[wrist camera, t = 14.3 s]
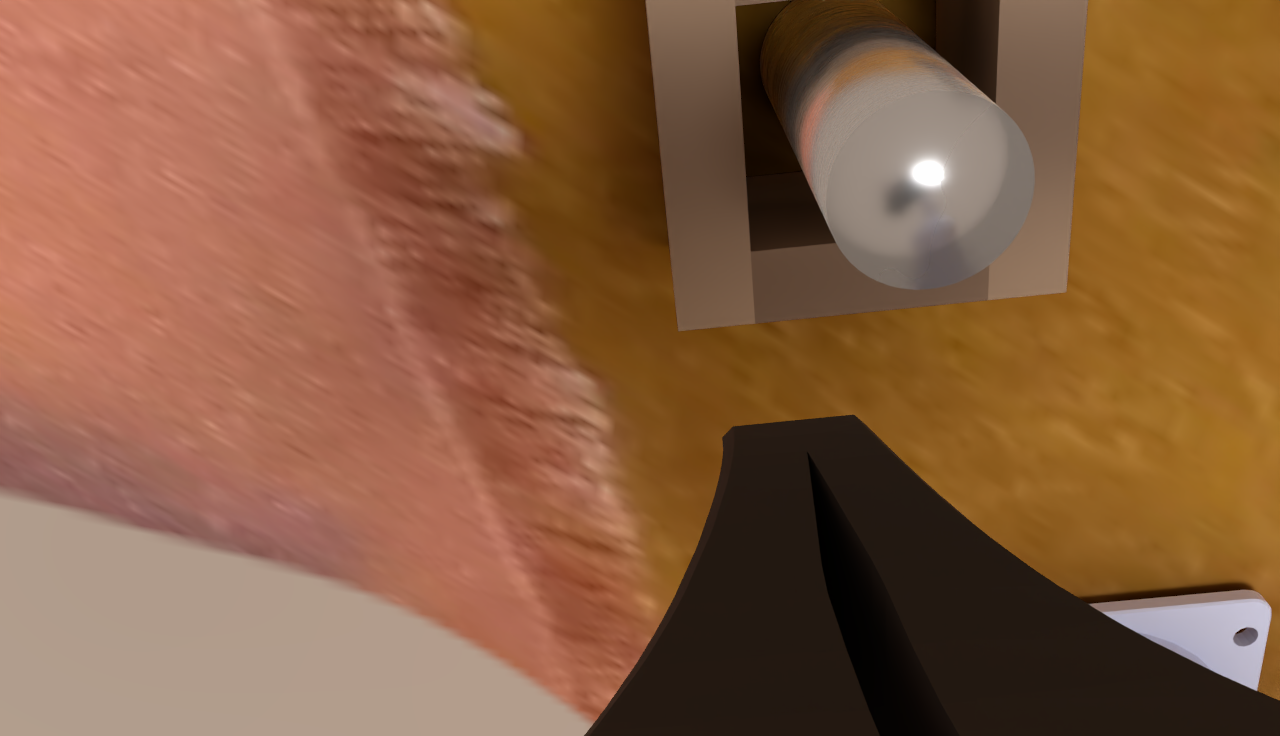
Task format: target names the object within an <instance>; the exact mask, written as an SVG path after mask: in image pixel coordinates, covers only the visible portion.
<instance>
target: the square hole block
mask: <svg viewBox="0 0 1280 736" xmlns="http://www.w3.org/2000/svg"><path fill="white" fill-rule="evenodd" d="M777 1H786V0H645V5H646V15H647V25H648V36H649V46H650V56H651V66H652V76H653V87H654V97H655V107H656V117H657V127H658V138H659V148H660V158H661V168H662V178H663V189H664V199H665V209H666V219H667V229H668V240H669V250H670V259H671V268H672V278H673V287H674V296H675V306H676V315H677V324H678V331H686V330H696V329H706V328H716V327H726V326H736V325H746V324H756V323H766V322H775V321H785V320H795V319H805V318H815V317H825V316H835V315H845V314H855V313H865V312H875V311H885V310H895V309H905V308H915V307H925V306H935V305H945V304H954V303H964V302H974V301H984V300H994V299H1004V298H1014V297H1024V296H1034V295H1044V294H1054V293H1064V292H1066V289H1067V276H1068V262H1069V249H1070V236H1071V222H1072V209H1073V195H1074V182H1075V168H1076V155H1077V141H1078V128H1079V114H1080V101H1081V87H1082V74H1083V60H1084V47H1085V33H1086V20H1087V6H1088V0H936V43H935V51H936V52H937V53H938V54H939V55H940V56H942V57H943V58H944V59H945V60H946V61H947V62H948V63H950V64H951V65H952V66H953V67H954V68H955V69H956V70H958V71H959V72H960V73H961V74H962V75H963V76H964V77H966V78H967V79H968V80H969V81H970V82H971V83H972V84H974V85H975V86H976V87H977V88H978V89H979V90H980V91H982V92H983V93H984V94H985V95H986V96H987V97H988V98H990V99H991V100H992V101H993V102H994V103H995V104H996V105H998V106H999V107H1000V108H1001V109H1002V110H1003V111H1004V112H1006V113H1007V114H1008V115H1009V116H1010V117H1011V118H1012V120H1013V121H1014V122H1015V123H1016V124H1017V125H1018V127H1019V128H1020V130H1021V131H1022V133H1023V134H1024V136H1025V138H1026V140H1027V142H1028V145H1029V148H1030V151H1031V154H1032V157H1033V163H1034V169H1035V185H1034V193H1033V198H1032V202H1031V206H1030V210H1029V212H1028V215H1027V217H1026V220H1025V222H1024V224H1023V226H1022V227H1021V229H1020V231H1019V233H1018V234H1017V236H1016V237H1015V239H1014V240H1013V241H1012V243H1011V244H1010V245H1009V246H1008V248H1007V249H1006V250H1005V251H1004V252H1003V253H1002V254H1001V255H1000V256H999V257H998V258H997V259H996V260H995V261H993V262H992V263H991V264H990V265H988V266H987V267H986V268H984V269H983V270H981V271H980V272H978V273H976V274H974V275H973V276H971V277H969V278H967V279H964V280H962V281H960V282H957V283H954V284H951V285H948V286H944V287H939V288H933V289H921V290H914V289H902V288H897V287H892V286H889V285H886V284H883V283H880V282H878V281H876V280H874V279H872V278H870V277H868V276H867V275H865V274H864V273H862V272H861V271H859V270H858V269H857V268H856V267H855V266H854V265H852V264H851V263H850V262H849V261H848V259H847V258H846V257H845V256H844V254H843V253H842V252H841V250H840V249H839V247H838V245H837V244H836V242H835V240H834V238H833V235H832V233H831V231H830V229H829V227H828V225H827V223H826V220H825V218H824V216H823V214H822V212H821V210H820V207H819V205H818V203H817V201H816V199H815V197H814V194H813V192H812V190H811V188H810V186H809V184H808V182H807V179H806V177H805V175H804V173H803V171H801V172H791V173H781V174H772V175H762V176H753V177H746V170H745V155H744V139H743V123H742V107H741V91H740V75H739V60H738V44H737V28H736V12H735V6H740V5H749V4H759V3H768V2H777Z"/></svg>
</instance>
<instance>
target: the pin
mask: <svg viewBox="0 0 1280 736" xmlns="http://www.w3.org/2000/svg"><path fill="white" fill-rule="evenodd" d="M760 71H761V78H762V82H763V86H764V88H765V91H766V93H767V95H768V97H769V100H770V102H771V104H772V106H773V108H774V110H775V112H776V115H777V117H778V119H779V121H780V123H781V125H782V128H783V130H784V132H785V134H786V136H787V138H788V141H789V143H790V145H791V147H792V149H793V151H794V153H795V156H796V158H797V160H798V162H799V164H800V166H801V169H802V171H803V173H804V175H805V177H806V179H807V182H808V184H809V186H810V188H811V190H812V192H813V194H814V197H815V199H816V201H817V203H818V205H819V207H820V210H821V212H822V214H823V216H824V218H825V220H826V223H827V225H828V227H829V229H830V231H831V233H832V235H833V238H834V240H835V242H836V244H837V245H838V247H839V249H840V250H841V252H842V253H843V254H844V256H845V257H846V258H847V259H848V261H849V262H850V263H851V264H852V265H854V266H855V267H856V268H857V269H858V270H859V271H861V272H862V273H864V274H865V275H867V276H868V277H870V278H872V279H874V280H876V281H878V282H880V283H883V284H886V285H889V286H892V287H897V288H902V289H914V290H921V289H933V288H939V287H944V286H948V285H951V284H954V283H957V282H960V281H962V280H964V279H967V278H969V277H971V276H973V275H974V274H976V273H978V272H980V271H981V270H983V269H984V268H986V267H987V266H988V265H990V264H991V263H992V262H993V261H995V260H996V259H997V258H998V257H999V256H1000V255H1001V254H1002V253H1003V252H1004V251H1005V250H1006V249H1007V248H1008V246H1009V245H1010V244H1011V243H1012V241H1013V240H1014V239H1015V237H1016V236H1017V234H1018V233H1019V231H1020V229H1021V227H1022V226H1023V224H1024V222H1025V220H1026V217H1027V215H1028V212H1029V210H1030V206H1031V202H1032V198H1033V193H1034V185H1035V169H1034V163H1033V157H1032V154H1031V151H1030V148H1029V145H1028V142H1027V140H1026V138H1025V136H1024V134H1023V133H1022V131H1021V130H1020V128H1019V127H1018V125H1017V124H1016V123H1015V122H1014V121H1013V120H1012V118H1011V117H1010V116H1009V115H1008V114H1007V113H1006V112H1004V111H1003V110H1002V109H1001V108H1000V107H999V106H998V105H996V104H995V103H994V102H993V101H992V100H991V99H990V98H988V97H987V96H986V95H985V94H984V93H983V92H982V91H980V90H979V89H978V88H977V87H976V86H975V85H974V84H972V83H971V82H970V81H969V80H968V79H967V78H966V77H964V76H963V75H962V74H961V73H960V72H959V71H958V70H956V69H955V68H954V67H953V66H952V65H951V64H950V63H948V62H947V61H946V60H945V59H944V58H943V57H942V56H940V55H939V54H938V53H937V52H936V51H935V50H934V49H932V48H931V47H930V46H929V45H928V44H927V43H926V42H924V41H923V40H922V39H921V38H920V37H919V36H918V35H916V34H915V33H914V32H913V31H912V30H911V29H910V28H908V27H907V26H906V25H905V24H904V23H903V22H902V21H900V20H899V19H898V18H897V17H896V16H895V15H894V14H892V13H891V12H890V11H889V10H888V9H887V8H886V7H884V6H883V5H882V4H881V3H880V2H878V1H877V0H793V1H792V2H791V3H789V4H788V5H787V6H786V7H785V8H784V9H783V10H782V11H781V12H780V13H779V14H778V15H777V17H776V18H775V19H774V21H773V22H772V24H771V26H770V27H769V29H768V31H767V33H766V36H765V38H764V41H763V45H762V49H761V56H760Z"/></svg>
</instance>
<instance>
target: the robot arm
mask: <svg viewBox="0 0 1280 736" xmlns="http://www.w3.org/2000/svg"><path fill="white" fill-rule="evenodd" d="M722 438H723V460H722V467H721V472H720V477H719V481H718V485H717V489H716V492H715V496H714V500H713V503H712V506H711V509H710V512H709V515H708V517H707V520H706V523H705V526H704V529H703V532H702V535H701V538H700V541H699V543H698V546H697V548H696V551H695V553H694V555H693V557H692V560H691V562H690V564H689V566H688V568H687V571H686V573H685V575H684V577H683V579H682V582H681V584H680V586H679V588H678V590H677V593H676V595H675V597H674V599H673V601H672V603H671V605H670V607H669V609H668V610H667V612H666V614H665V616H664V618H663V620H662V622H661V623H660V625H659V627H658V629H657V631H656V632H655V634H654V636H653V637H652V639H651V641H650V642H649V644H648V646H647V647H646V649H645V651H644V652H643V654H642V656H641V657H640V659H639V660H638V662H637V664H636V665H635V667H634V668H633V670H632V671H631V672H630V674H629V675H628V677H627V678H626V680H625V681H624V682H623V684H622V685H621V687H620V688H619V690H618V691H617V693H616V694H615V695H614V697H613V698H612V700H611V701H610V703H609V704H608V706H607V707H606V708H605V710H604V711H603V712H602V714H601V715H600V716H599V717H598V719H597V720H596V721H595V723H594V724H593V725H592V727H591V728H590V729H589V730H588V732H587V733H586V734H585V735H584V736H1280V701H1279V700H1277V699H1274V698H1272V697H1269V696H1267V695H1265V694H1263V693H1260V692H1258V691H1257V688H1258V683H1259V678H1260V673H1261V668H1262V662H1263V657H1264V652H1265V647H1266V641H1267V636H1268V631H1269V626H1270V621H1271V615H1272V614H1271V607H1270V606H1269V605H1268V603H1267V602H1266V601H1265V599H1264V598H1263V597H1262V595H1261V594H1260V593H1258V592H1256V591H1254V590H1235V591H1224V592H1214V593H1203V594H1192V595H1181V596H1170V597H1159V598H1148V599H1137V600H1126V601H1115V602H1105V603H1094V604H1087V603H1086V602H1084V601H1082V600H1081V599H1079V598H1077V597H1076V596H1074V595H1073V594H1071V593H1069V592H1068V591H1066V590H1064V589H1063V588H1061V587H1059V586H1058V585H1056V584H1055V583H1053V582H1052V581H1050V580H1049V579H1047V578H1046V577H1044V576H1043V575H1041V574H1040V573H1038V572H1037V571H1035V570H1034V569H1033V568H1031V567H1030V566H1028V565H1027V564H1026V563H1024V562H1023V561H1021V560H1020V559H1019V558H1017V557H1016V556H1015V555H1013V554H1012V553H1011V552H1009V551H1008V550H1007V549H1005V548H1004V547H1002V546H1001V545H1000V544H998V543H997V542H996V541H994V540H993V539H992V538H990V537H989V536H988V535H987V534H985V533H984V532H983V531H982V530H980V529H979V528H978V527H977V526H975V525H974V524H973V523H972V522H971V521H969V520H968V519H967V518H966V517H965V516H964V515H962V514H961V513H960V512H959V511H958V510H957V509H955V508H954V507H953V506H952V505H951V504H950V503H948V502H947V501H946V500H945V499H944V498H943V497H941V496H940V495H939V494H938V493H937V492H936V491H935V490H933V489H932V488H931V487H930V486H929V485H928V484H927V483H926V482H925V481H923V480H922V479H921V478H920V477H919V476H918V475H917V474H916V473H915V472H914V471H913V470H912V469H911V468H910V467H908V466H907V465H906V464H905V463H904V462H903V461H902V460H901V459H900V458H899V457H898V456H897V455H896V454H895V453H894V452H893V451H892V450H891V449H890V448H889V447H888V446H887V445H886V444H885V443H884V442H883V441H882V440H881V439H880V438H879V437H878V436H877V435H876V434H875V433H874V432H873V431H871V430H870V429H869V428H868V427H867V426H866V425H865V424H864V423H863V422H862V421H861V420H860V419H858V418H857V417H856V416H855V415H846V416H836V417H825V418H815V419H805V420H795V421H785V422H774V423H764V424H754V425H744V426H733V427H732V428H731V429H730V430H729V431H728V432H727V433H726V434H725V435H724V436H723V437H722ZM1246 627H1247V629H1245V630H1244V631H1243V632H1241V633H1238V634H1235V633H1236V632H1238V631H1239V630H1240V629H1243V628H1246Z"/></svg>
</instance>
